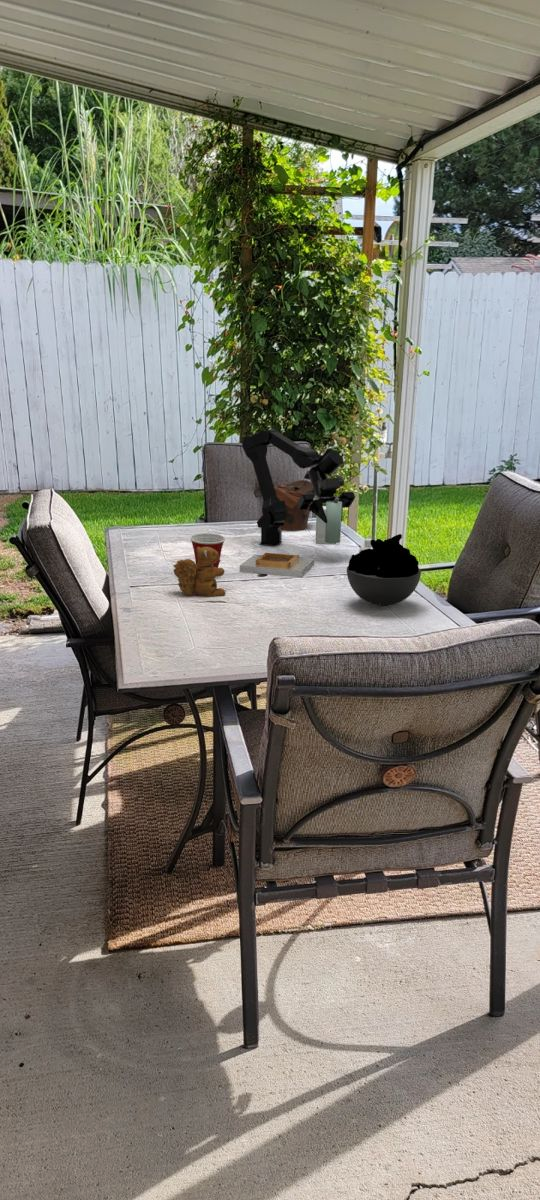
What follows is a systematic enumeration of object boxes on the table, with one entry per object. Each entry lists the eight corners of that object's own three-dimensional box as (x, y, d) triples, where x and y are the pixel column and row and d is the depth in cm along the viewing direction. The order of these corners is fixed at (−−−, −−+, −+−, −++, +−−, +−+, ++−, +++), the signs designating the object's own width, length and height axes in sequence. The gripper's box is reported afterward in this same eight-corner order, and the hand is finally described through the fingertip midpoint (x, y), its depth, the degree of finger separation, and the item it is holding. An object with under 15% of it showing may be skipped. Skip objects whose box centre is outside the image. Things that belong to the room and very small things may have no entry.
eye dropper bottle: (369, 570, 275) (370, 532, 272) (377, 574, 270) (379, 536, 267) (356, 571, 273) (358, 533, 270) (365, 575, 268) (366, 537, 265)
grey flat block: (239, 571, 270) (239, 560, 269) (254, 560, 285) (254, 550, 284) (301, 577, 265) (302, 565, 264) (313, 565, 280) (314, 554, 279)
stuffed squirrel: (228, 595, 244) (228, 550, 240) (179, 599, 240) (178, 553, 236) (218, 586, 253) (218, 542, 250) (171, 590, 249) (170, 545, 245)
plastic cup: (195, 580, 259) (194, 541, 256) (186, 572, 269) (185, 534, 266) (229, 577, 263) (230, 539, 260) (219, 569, 273) (219, 532, 269)
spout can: (322, 540, 284) (324, 495, 280) (335, 539, 286) (337, 494, 282) (329, 543, 280) (330, 497, 276) (342, 542, 282) (344, 497, 278)
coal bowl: (368, 618, 225) (371, 547, 220) (332, 598, 242) (334, 532, 237) (433, 610, 233) (438, 542, 227) (394, 592, 250) (397, 527, 245)
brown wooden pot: (262, 531, 331) (263, 484, 326) (270, 522, 350) (272, 477, 345) (308, 534, 328) (311, 487, 323) (314, 524, 347) (317, 479, 342)
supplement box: (336, 544, 311) (338, 509, 307) (315, 544, 311) (317, 509, 307) (335, 540, 318) (336, 505, 314) (315, 539, 318) (316, 505, 314)
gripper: (302, 468, 277) (315, 509, 271) (354, 466, 284) (368, 506, 278) (291, 489, 287) (304, 528, 280) (342, 487, 294) (356, 525, 287)
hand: (333, 521), depth 281 cm, fingers closed on spout can, 5 cm apart
